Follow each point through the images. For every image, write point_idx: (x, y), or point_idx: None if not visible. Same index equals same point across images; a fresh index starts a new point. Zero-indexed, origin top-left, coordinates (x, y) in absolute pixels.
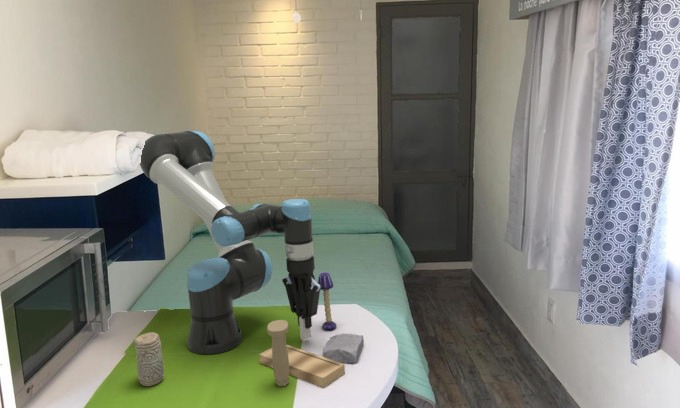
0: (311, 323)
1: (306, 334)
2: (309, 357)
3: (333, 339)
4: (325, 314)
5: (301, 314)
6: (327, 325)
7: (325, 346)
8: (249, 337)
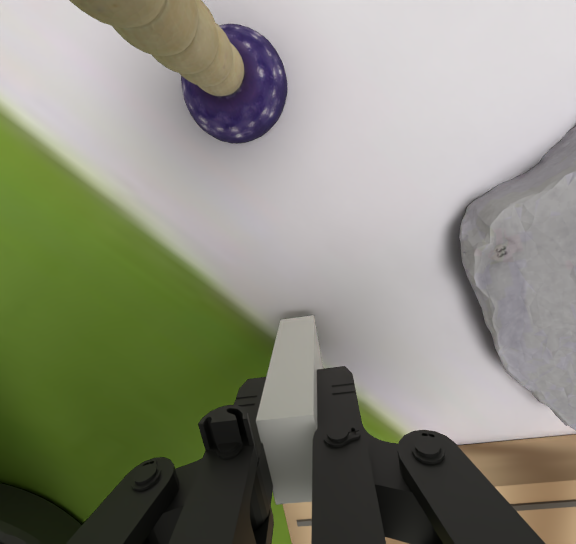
0: (354, 386)
1: (321, 368)
2: (559, 519)
3: (513, 280)
4: (191, 81)
5: (267, 487)
6: (250, 115)
7: (505, 352)
8: (47, 467)
